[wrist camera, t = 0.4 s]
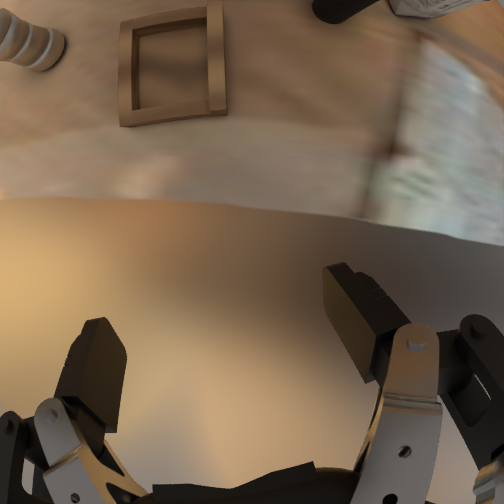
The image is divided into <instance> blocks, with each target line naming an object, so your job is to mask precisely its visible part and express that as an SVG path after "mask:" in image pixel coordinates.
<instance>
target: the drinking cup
mask: <svg viewBox="0 0 504 504" xmlns="http://www.w3.org/2000/svg"><path fill="white" fill-rule="evenodd" d="M377 1H379V0H314V2H313V5H312V8H313V11H314V13H315V15H316V16H317V17H318V18H320V19H321V20H322V21H324V22H327V23H331V24H338V23H341V22H343V21H345V20H346V19H348V18H349V17H351V16H353V15H354V14H356V13H358V12H359V11H361V10H363V9H365V8H366V7H368V6H370V5H372V4H374V3H375V2H377Z"/></svg>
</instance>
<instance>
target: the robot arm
mask: <svg viewBox="0 0 504 504" xmlns="http://www.w3.org/2000/svg"><path fill="white" fill-rule="evenodd" d="M323 302H324V308H325V311H326V314H327V317H328V318H329V320H330V322H331V323H332V325H333V327H334V329H335V330H336V332H337V334H338V336H339V337H340V339H341V341H342V343H343V344H344V346H345V348H346V350H347V351H348V353H349V355H350V356H351V359H352V360H353V362H354V364H355V366H356V368H357V369H358V371H359V373H360V375H361V377H362V378H363V380H364V382H365V384H366V383H369V382H371V381H374V380H376V381H377V383H378V384H379V386H380V387H379V390H378V394H377V398H376V402H375V405H374V409H373V413H372V416H371V420H370V424H369V427H368V430H367V433H366V436H365V439H364V442H363V445H362V447H361V450H360V452H359V455H358V458H357V460H356V463H355V466H354V469H353V471H352V470H347V469H342V468H327V467H322V468H315V466H314V463H313V461H312V462H309V463H305V464H301V465H298V466H295V467H291V468H286V469H283V470H279V471H274V472H271V473H268V474H266V475H264V476H262V477H260V478H257V479H255V480H253V481H250V482H248V483H245V484H243V485H240V486H238V487H235V488H231V489H225V488H215V487H208V486H201V485H194V484H165V485H164V484H163V485H161V484H160V485H158V484H155V485H154V484H153V493H150V494H149V493H148V492H147V491H146V490H145V489H144V488H143V487H141V486H140V485H139V484H138V483H137V482H135V481H134V479H133V478H132V477H131V476H130V475H129V473H128V472H127V471H126V469H125V468H124V466H123V465H122V463H121V462H120V461H119V459H118V458H117V456H116V455H115V453H114V452H113V450H112V449H111V447H110V445H109V444H108V442H107V441H106V440H104V435H105V433H117V424H118V416H119V408H120V401H121V393H122V387H123V381H124V374H125V369H126V363H127V355H126V350H125V347H124V346H123V344H122V342H121V341H120V339H119V337H118V336H117V334H116V332H115V331H114V329H113V327H112V326H111V324H110V322H109V321H108V320H107V319H106V318H105V317H102V318H97V319H91V320H87V321H86V322H85V324H84V327H83V329H82V332H81V334H80V335H79V336H78V337H77V338H76V340H75V341H74V342H73V344H72V345H71V347H70V350H69V353H68V355H67V356H68V358H66V361H65V364H64V365H65V366H64V367H63V369H62V372H61V375H60V378H59V381H58V385H57V388H56V391H55V394H54V397H53V398H48V399H46V400H44V401H43V402H42V403H41V404H40V405H39V406H38V408H37V409H36V412H35V415H34V416H33V417H29V418H26V419H22V418H21V417H19V416H18V415H17V414H16V413H15V412H13V411H8V412H6V413H4V414H3V415H2V416H1V417H0V504H435V503H432V502H429V501H426V497H427V494H428V490H429V486H430V482H431V478H432V474H433V470H434V465H435V460H436V455H437V449H438V443H439V438H440V431H441V423H442V414H443V408H442V404H441V403H438V402H437V395H440V397H441V399H442V400H443V402H444V404H445V406H446V408H447V409H448V411H449V413H450V415H451V417H452V418H453V420H454V422H455V424H456V426H457V428H458V429H459V431H460V433H461V435H462V437H463V439H464V441H465V443H466V445H467V447H468V449H469V451H470V453H471V455H472V457H473V459H474V461H475V463H476V465H477V468H478V470H479V473H478V475H477V477H476V480H475V485H474V486H473V493H474V494H475V495H476V503H475V504H504V336H503V334H502V333H501V332H500V331H499V330H498V329H497V328H496V326H495V325H494V324H493V323H492V322H491V321H490V320H489V319H487V318H486V317H484V316H482V315H477V314H472V315H468V316H466V317H465V318H463V319H462V321H461V323H460V326H459V328H458V329H456V330H450V331H444V332H437V333H435V332H434V331H433V330H432V329H431V328H430V327H428V326H426V325H423V324H419V323H411V321H410V320H409V319H408V318H407V317H406V316H405V315H404V313H403V312H402V311H401V310H400V309H399V307H398V306H397V305H396V304H395V303H394V302H393V300H392V299H391V298H390V297H389V296H387V294H386V293H385V292H384V290H383V289H381V288H380V286H379V285H378V284H377V283H376V281H375V280H374V279H373V278H372V277H370V276H368V275H366V274H364V273H362V272H357V273H354V272H353V271H352V270H351V269H350V267H349V266H348V265H347V264H346V263H345V262H340V263H337V264H333V265H330V266H326V267H324V268H323ZM475 375H477V377H478V378H479V380H480V381H481V383H482V384H483V386H484V387H485V389H486V391H487V392H488V394H489V395H490V398H491V400H490V398H489V397H488V395H487V394H486V392H485V390H484V389H483V387H482V386H481V384H480V383H479V381H478V380H477V378H476V377H475ZM24 458H25V459H27V460H28V461H30V462H31V463H33V464H34V465H35V468H34V477H33V488H32V495H30V494H28V493H27V492H26V491H25V490H24V488H23V486H22V472H23V464H24Z"/></svg>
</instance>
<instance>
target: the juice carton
mask: <svg viewBox="0 0 504 504" xmlns="http://www.w3.org/2000/svg"><path fill="white" fill-rule="evenodd" d="M485 1H489V0H389V2H390V4H391V6H392V9H393V11H394V12H395V14H396V15H404V16H416V17H422V18H437V17H441V16H444V15H447V14H449V13H452V12H455V11H458V10H460V9H463V8H466V7H469V6H472V5H475V4H479V3H482V2H485Z"/></svg>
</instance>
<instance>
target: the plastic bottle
mask: <svg viewBox="0 0 504 504" xmlns="http://www.w3.org/2000/svg"><path fill="white" fill-rule="evenodd" d="M63 49H64V37H63V35H62V34H61V33H60V32H59V31H58V30H56V29H52V28H44V27H40V26H36V25H32V24H30V23H28V22H26V21H24V20H22V19H20V18H19V17H17V16H16V15H14V14H13V13H12V12H10V11H9V10H7V9H4V8H0V61H6V62H12V63H15V64H18V65H21V66H23V67H24V68H26V69H28V70H30V71H43V70H46V69H48V68H49V67H51V66H52V65H53V64H54V63H55V62H56V61H57V60H58V59H59V57H60V56H61V54H62V52H63Z"/></svg>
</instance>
